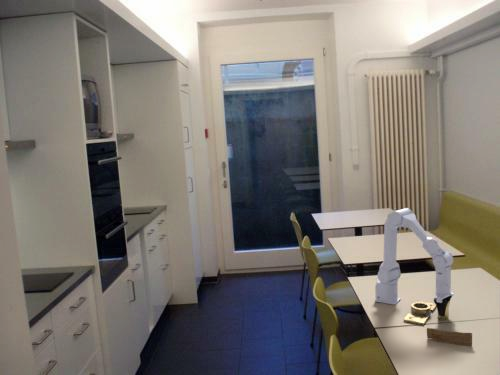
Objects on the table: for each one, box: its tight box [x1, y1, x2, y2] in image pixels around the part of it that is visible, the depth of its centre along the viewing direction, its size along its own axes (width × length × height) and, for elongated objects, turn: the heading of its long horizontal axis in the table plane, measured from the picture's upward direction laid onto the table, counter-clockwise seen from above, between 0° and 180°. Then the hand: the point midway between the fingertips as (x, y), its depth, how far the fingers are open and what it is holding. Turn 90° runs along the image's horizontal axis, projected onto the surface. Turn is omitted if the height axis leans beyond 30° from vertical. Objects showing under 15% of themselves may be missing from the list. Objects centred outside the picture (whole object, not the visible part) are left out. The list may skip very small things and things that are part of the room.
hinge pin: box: [437, 300, 451, 321], centre depth 195 cm, size 5×5×7 cm
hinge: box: [403, 300, 437, 326], centre depth 200 cm, size 8×22×4 cm, turn 146°
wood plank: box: [426, 327, 473, 347], centre depth 174 cm, size 15×2×5 cm, turn 64°
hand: (443, 313), depth 195 cm, fingers closed on hinge pin, 5 cm apart
